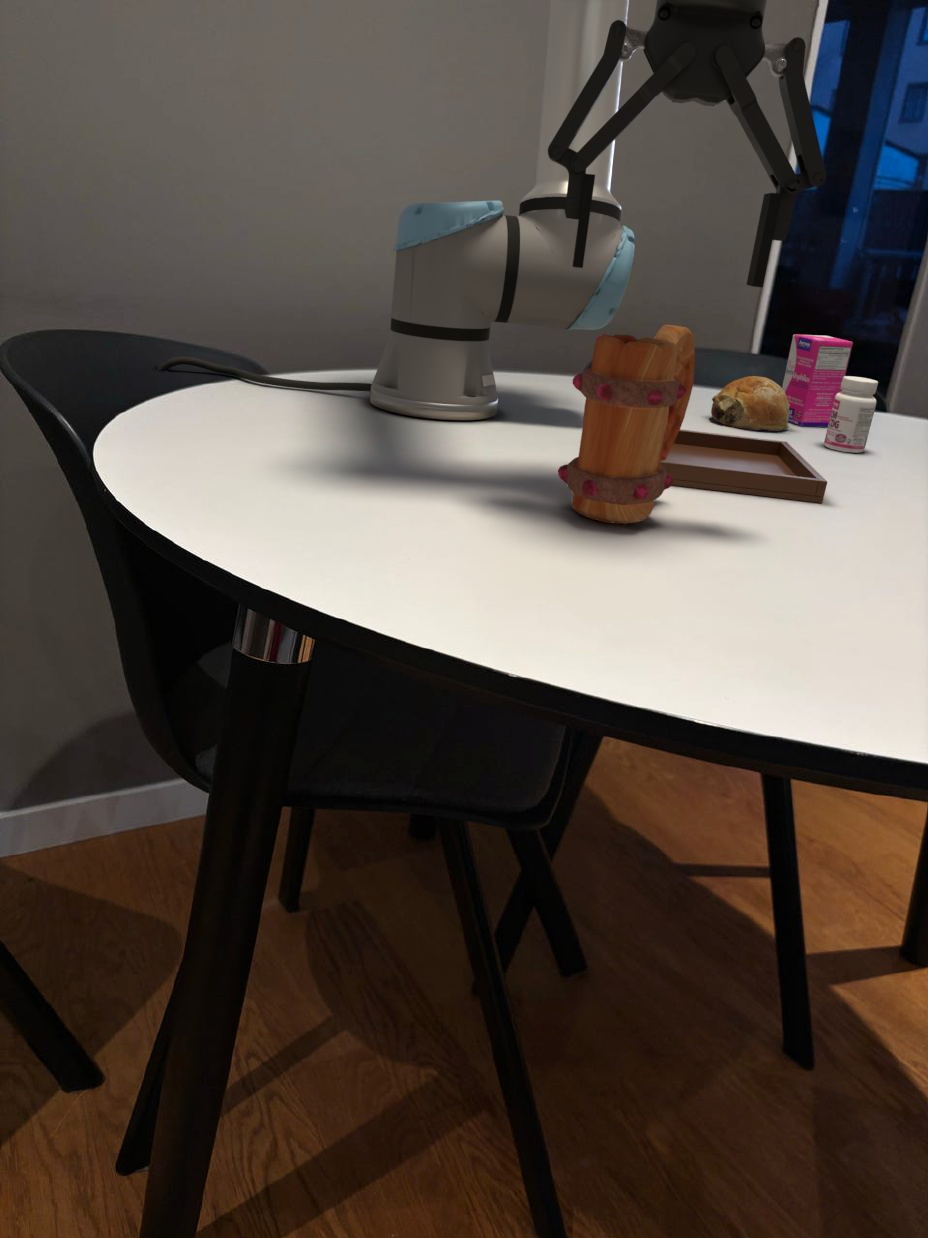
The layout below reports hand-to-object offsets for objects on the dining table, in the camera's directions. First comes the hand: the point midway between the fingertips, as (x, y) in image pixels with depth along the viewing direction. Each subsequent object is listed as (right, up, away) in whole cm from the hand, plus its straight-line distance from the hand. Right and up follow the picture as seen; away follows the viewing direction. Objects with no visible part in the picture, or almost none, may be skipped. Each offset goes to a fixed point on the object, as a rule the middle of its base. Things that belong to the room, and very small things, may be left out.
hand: (665, 276), depth 75 cm
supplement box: (+32, +1, +60) cm, 68 cm away
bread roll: (+22, -1, +54) cm, 58 cm away
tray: (+9, -11, +26) cm, 29 cm away
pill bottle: (+31, -6, +44) cm, 54 cm away
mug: (-2, -17, +7) cm, 19 cm away
